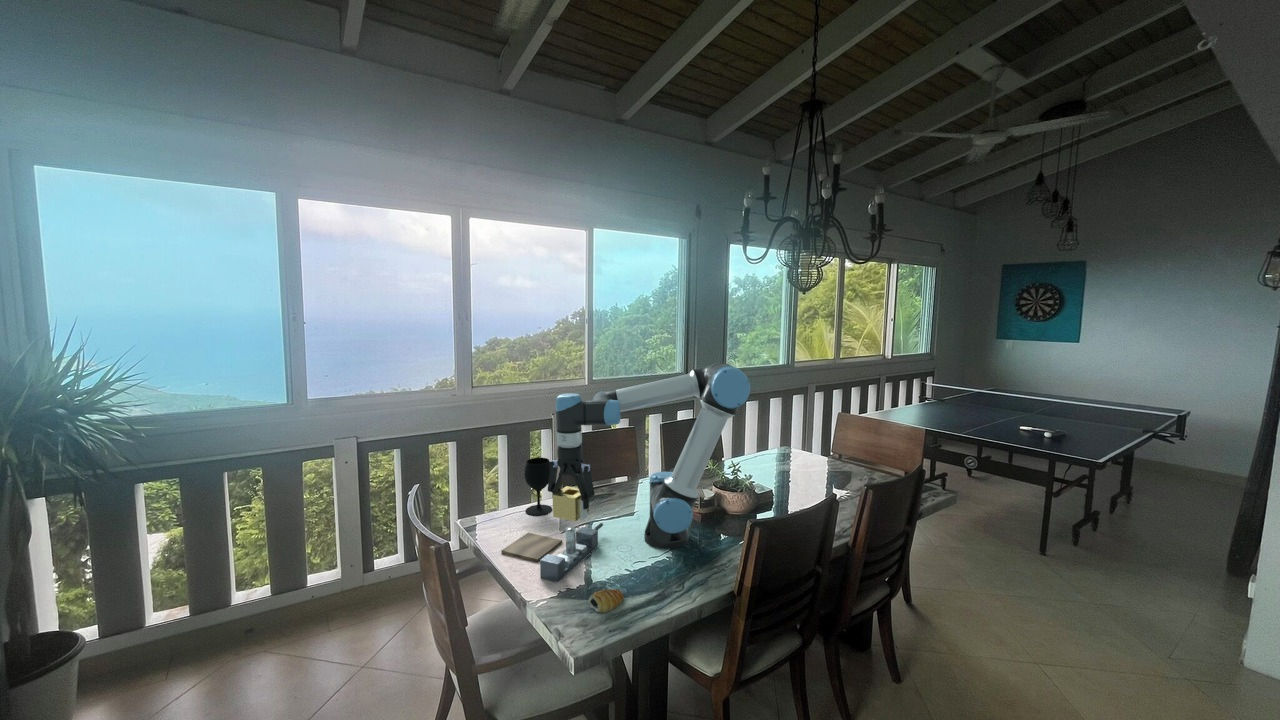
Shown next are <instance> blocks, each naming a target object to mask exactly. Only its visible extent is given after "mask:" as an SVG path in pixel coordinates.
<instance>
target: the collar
mask: <svg viewBox="0 0 1280 720" xmlns="http://www.w3.org/2000/svg"><path fill="white" fill-rule="evenodd" d="M581 498H582V497H581V494H580V491H579V489H578V487H574V486H568V485H566V486H565V487H563V488H561V490H560V491H558V492H556V493H555V494H553V493H552V517H553V518H555V519H556V518H557V519H562V520H567V521H573V522H576V521H578V520H579V519H580V499H581ZM589 512H590V506H589V507H588V508H587V513H589Z"/></svg>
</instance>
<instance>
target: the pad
mask: <svg viewBox="0 0 1280 720" xmlns="http://www.w3.org/2000/svg"><path fill="white" fill-rule="evenodd" d="M561 544H563V539H559V538H554V537H549V536H546V535H541V534H537V533H532V532H527V533H525V534H524V535H522V536H521V537H519V538H518V539H516V540H514V541H513V542H511V543H510V544H508V546H506V547H504V548H503V549H501V550H500V551H501V555H502V554H503V555H507V556H510V557H515V558H518V559H522V560H526V561H529V562H535V563H540V560H541V559H542V558H543V557H545V556H546V555H547V554H551V552H553V551H554V550H555V549H556V548H558V547H559V546H561Z"/></svg>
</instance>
